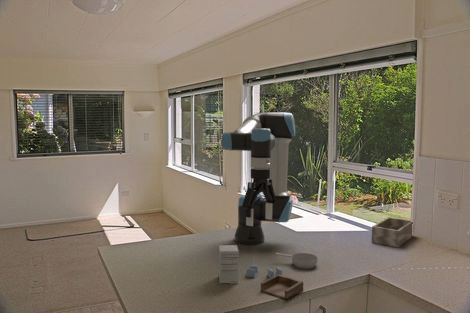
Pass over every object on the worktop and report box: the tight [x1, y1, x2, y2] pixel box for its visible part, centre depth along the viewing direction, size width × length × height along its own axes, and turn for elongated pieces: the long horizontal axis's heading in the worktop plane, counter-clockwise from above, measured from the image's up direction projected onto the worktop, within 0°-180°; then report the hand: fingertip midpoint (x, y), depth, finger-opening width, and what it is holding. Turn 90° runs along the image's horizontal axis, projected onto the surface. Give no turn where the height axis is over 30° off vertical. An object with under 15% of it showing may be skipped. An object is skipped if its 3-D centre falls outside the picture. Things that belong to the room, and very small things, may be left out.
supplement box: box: [218, 244, 240, 285], centre depth 158 cm, size 7×7×13 cm
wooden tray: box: [260, 274, 304, 301], centre depth 149 cm, size 11×11×3 cm
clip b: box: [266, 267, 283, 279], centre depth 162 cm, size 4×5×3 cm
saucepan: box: [275, 252, 319, 270], centre depth 177 cm, size 11×18×4 cm, turn 71°
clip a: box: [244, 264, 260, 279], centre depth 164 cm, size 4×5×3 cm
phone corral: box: [371, 216, 413, 248], centre depth 214 cm, size 13×25×8 cm, turn 141°
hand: (259, 222), depth 163 cm, fingers open, 13 cm apart
